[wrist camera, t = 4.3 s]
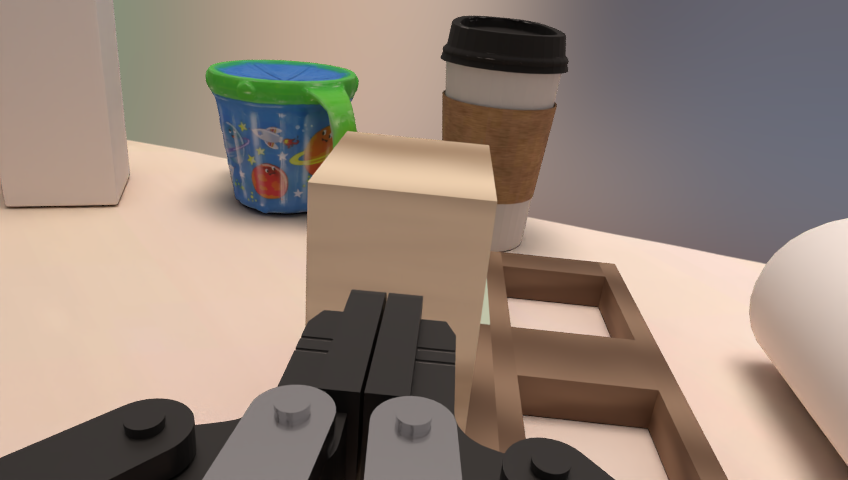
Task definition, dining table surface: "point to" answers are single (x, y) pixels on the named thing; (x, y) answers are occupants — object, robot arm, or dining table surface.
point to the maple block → (405, 232)
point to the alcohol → (809, 323)
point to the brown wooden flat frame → (578, 365)
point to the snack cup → (280, 126)
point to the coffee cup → (504, 105)
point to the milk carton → (61, 104)
